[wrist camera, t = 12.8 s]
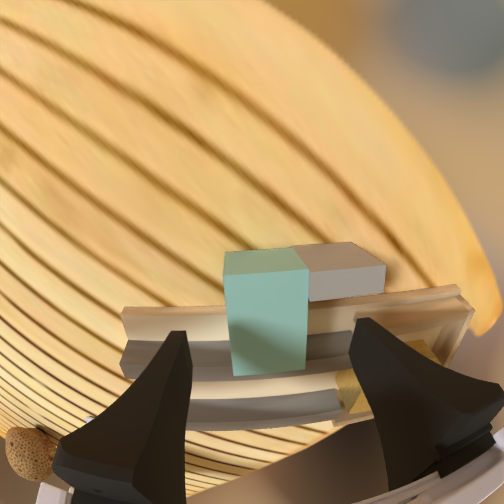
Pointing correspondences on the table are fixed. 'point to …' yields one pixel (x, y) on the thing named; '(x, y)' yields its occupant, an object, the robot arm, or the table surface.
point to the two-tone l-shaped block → (288, 298)
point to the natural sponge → (30, 453)
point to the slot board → (299, 381)
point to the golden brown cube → (351, 392)
